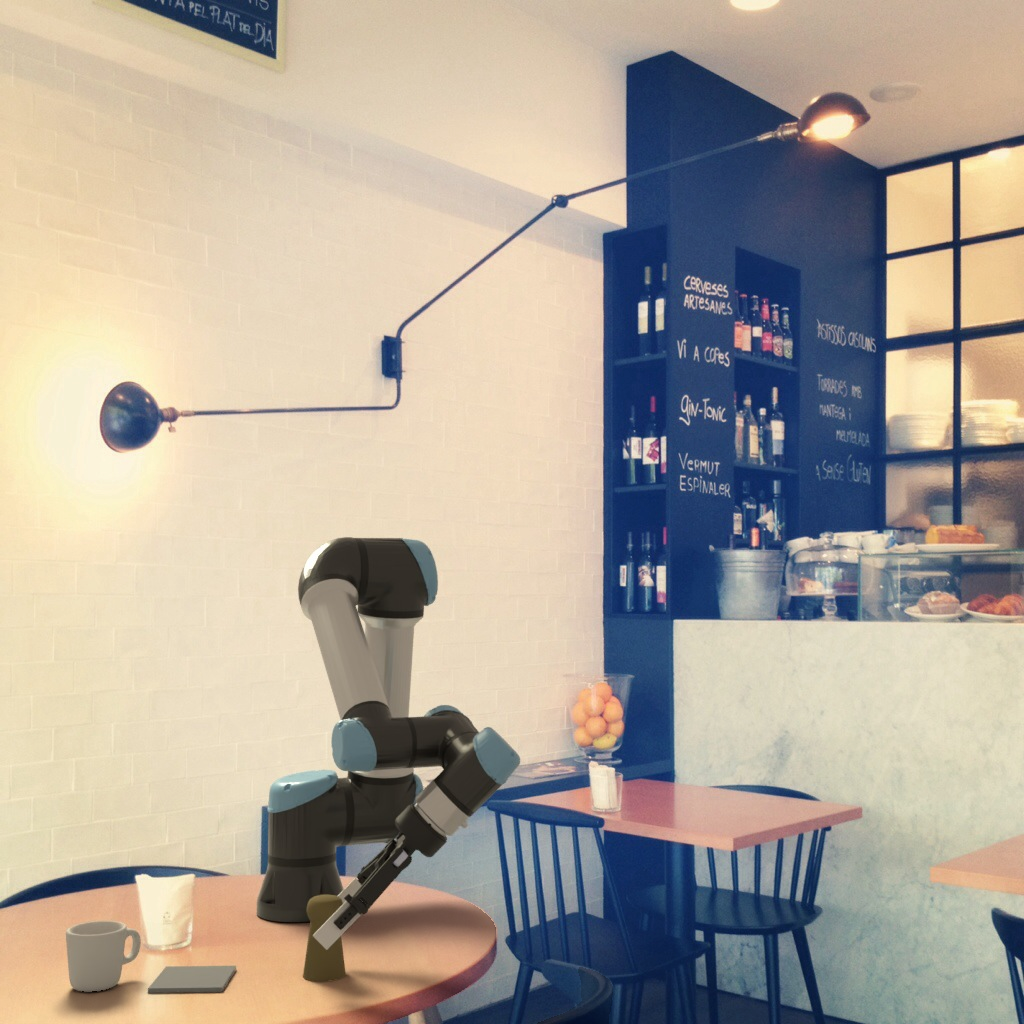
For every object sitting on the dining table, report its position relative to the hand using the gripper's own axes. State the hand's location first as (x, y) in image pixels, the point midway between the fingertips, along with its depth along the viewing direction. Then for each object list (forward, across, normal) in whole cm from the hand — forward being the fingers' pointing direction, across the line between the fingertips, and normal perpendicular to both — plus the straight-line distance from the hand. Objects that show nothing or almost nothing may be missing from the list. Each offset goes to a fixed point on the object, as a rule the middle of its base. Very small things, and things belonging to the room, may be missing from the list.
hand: (324, 929), depth 170 cm
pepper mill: (+5, +1, -5) cm, 7 cm away
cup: (+26, -2, +17) cm, 31 cm away
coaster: (+17, -1, +8) cm, 19 cm away
